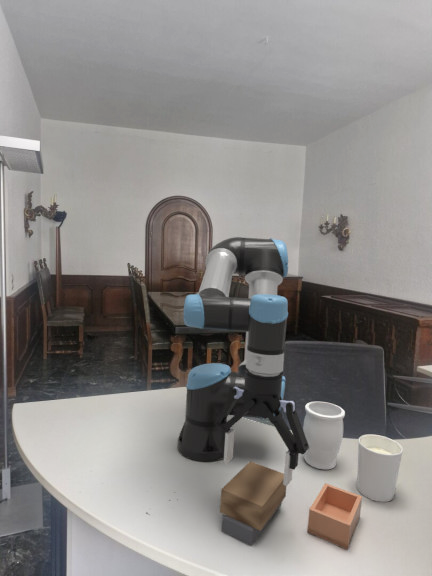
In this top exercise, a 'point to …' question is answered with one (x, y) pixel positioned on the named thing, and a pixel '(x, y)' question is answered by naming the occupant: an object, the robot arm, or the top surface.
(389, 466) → the candle holder
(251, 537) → the block
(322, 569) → the top surface
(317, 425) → the jar
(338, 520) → the dish
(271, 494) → the brown wooden block
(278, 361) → the robot arm
